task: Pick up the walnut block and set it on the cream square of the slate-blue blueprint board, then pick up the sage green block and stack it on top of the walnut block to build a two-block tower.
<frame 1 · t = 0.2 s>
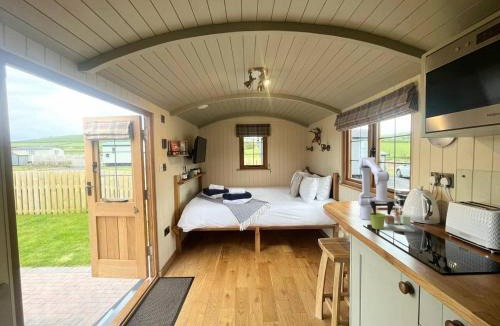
hand: (381, 214, 133), 10 cm above the counter, tool pointing down, fingers open, 7 cm apart
plant pot: (377, 228, 138), on the counter
walnut block: (389, 223, 146), on the counter
blueprint board: (400, 228, 136), on the counter
sage block: (405, 223, 146), on the counter
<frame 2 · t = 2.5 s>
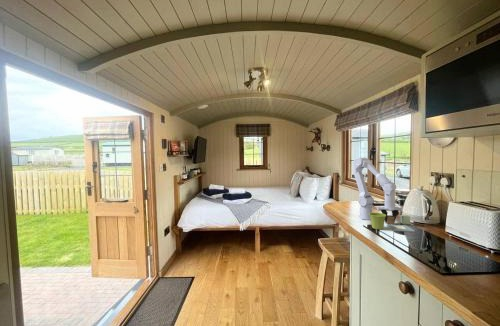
hand: (389, 221, 146), 1 cm above the counter, tool pointing down, fingers closed on walnut block, 4 cm apart
walnut block: (389, 223, 146), on the counter, touching gripper
everything else where it was.
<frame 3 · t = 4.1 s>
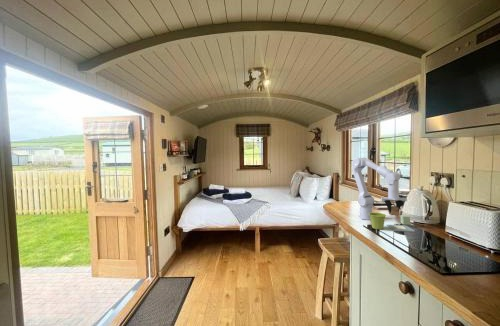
hand: (393, 212, 142), 9 cm above the counter, tool pointing down, fingers closed on walnut block, 4 cm apart
walnut block: (393, 214, 142), point 7 cm above the counter, touching gripper
everything else where it was.
when the fingers open (3 cm above the counter, at t = 5.9 s): walnut block stays where it is, resting on blueprint board.
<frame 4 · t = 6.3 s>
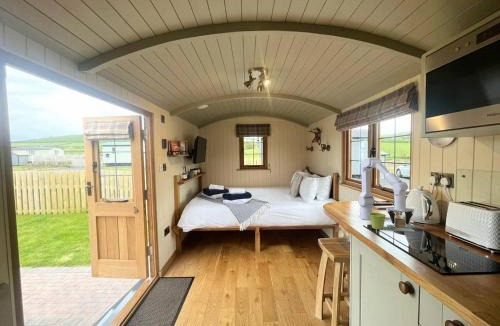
hand: (400, 223, 136), 3 cm above the counter, tool pointing down, fingers open, 7 cm apart
walnut block: (399, 227, 136), point 1 cm above the counter, touching blueprint board
everything else where it was.
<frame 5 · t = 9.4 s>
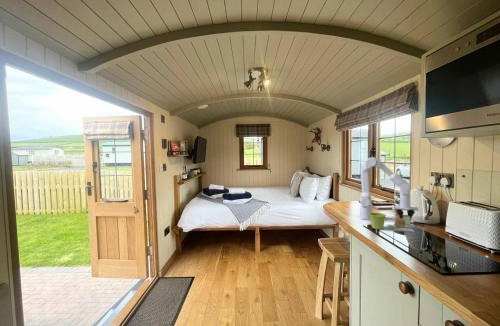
hand: (405, 221, 146), 1 cm above the counter, tool pointing down, fingers closed on sage block, 4 cm apart
sage block: (405, 223, 146), on the counter, touching gripper
everything else where it was.
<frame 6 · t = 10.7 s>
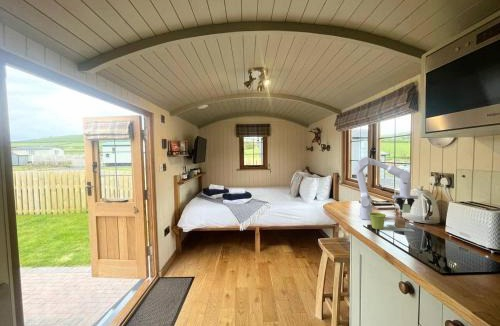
hand: (405, 209, 146), 9 cm above the counter, tool pointing down, fingers closed on sage block, 4 cm apart
sage block: (405, 211, 146), point 8 cm above the counter, touching gripper
everything else where it was.
when the fingers open (8 cm above the counter, at t = 12.5 s): sage block stays where it is, resting on walnut block.
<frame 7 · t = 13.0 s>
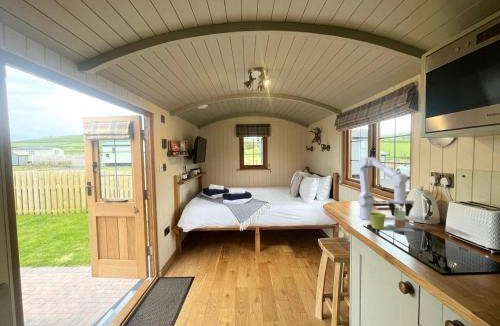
hand: (400, 215, 136), 8 cm above the counter, tool pointing down, fingers open, 7 cm apart
walnut block: (399, 227, 136), point 1 cm above the counter, touching blueprint board, sage block
sage block: (400, 219, 136), point 6 cm above the counter, touching walnut block
everything else where it was.
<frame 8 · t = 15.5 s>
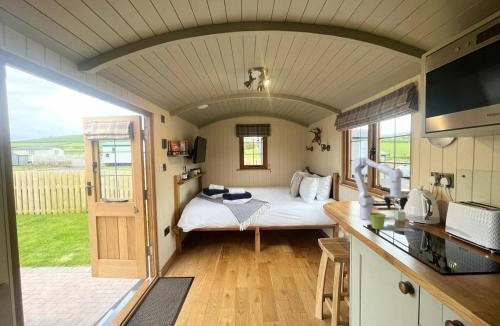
hand: (395, 209, 142), 10 cm above the counter, tool pointing down, fingers open, 7 cm apart
nothing on the counter moved.
at the end: walnut block 0.2 cm off-centre on the blueprint board, point 0.7 cm above the blueprint board's base; sage block 0.2 cm off-centre on the walnut block, point 5.0 cm above the walnut block's base; sage block tilted 0° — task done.
